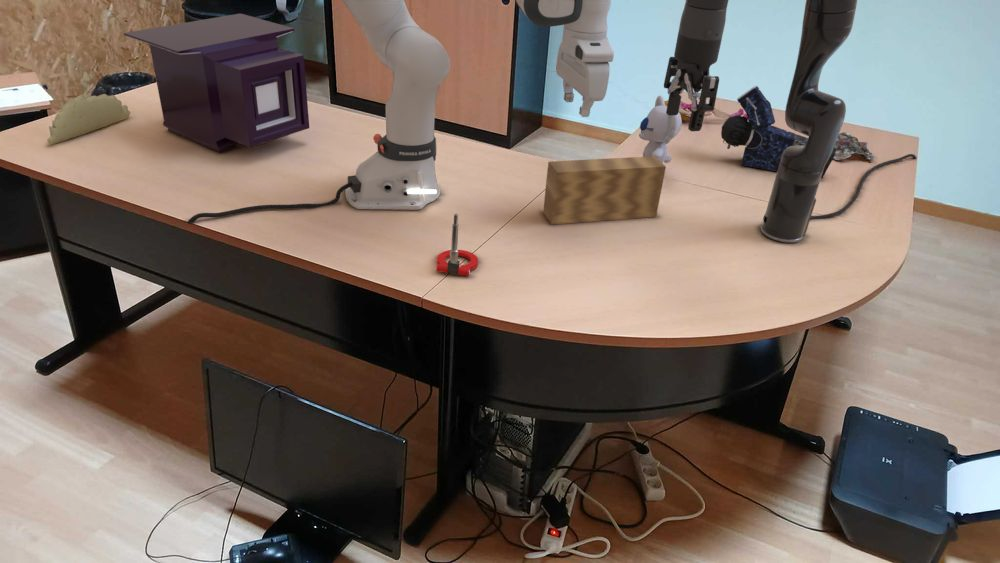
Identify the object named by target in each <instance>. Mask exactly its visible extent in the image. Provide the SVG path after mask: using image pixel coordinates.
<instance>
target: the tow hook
mask: <svg viewBox="0 0 1000 563" xmlns="http://www.w3.org/2000/svg"><path fill="white" fill-rule="evenodd" d="M458 221H459V214H458V213H454V214H453V223H452V225H451V226H452V227H451V246H450V247H451V248H450V249H447V250H444V251H442V252H440V253H439V254H438V255H437V257H436V264H437V265H436V268H435V269H436V272H439V273H441V272H442V273H447V274H450V275H461V276H462V275H463V276H467V277H468V276H470V274H471V271H472V270H473V269H476V267H478V265H479V258H478V256H477V255H476V254H475V253H473V252H470V251H468V250H465V249H464V250H463V249H458V246H459V244H458V243H459V240H458V239H459V226H460V225H459V224H460V223H459V222H458ZM459 257H463V258H466V259H468V260H469V262H468V263H465V264H461V263H460V260H459ZM448 258H449V259H448ZM446 259H448V261H446ZM460 264H461V265H460Z"/></svg>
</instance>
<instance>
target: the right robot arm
mask: <svg viewBox="0 0 1000 563" xmlns="http://www.w3.org/2000/svg"><path fill="white" fill-rule="evenodd" d="M804 4H805V6H804V10H803V11H804V12H803V18H802V26H801V35H800V42H799V46H798V47H799V48H798V53H797V57H796V58H797V59H796V65H795V69H794V73H793V76H792V81H791V83H790V84H791V85H790V88H789V92H788V93H789V94H788V96H787V101H786V105H785V111H784V119H785V121H784V122H785V124H786V125H787V127H788V128H789V129H790V130H793V131H794V132H797V133H800V134H802V135H804V136H807V138H808V140H807V143H806V145H805V146H790V147H787V148H786V149H784V151H783V153H782V156H781V160H780V163H779V167H778V170H777V171H776V175H775V178H774V181H773V184H772V189H771V192H770V196H769V200H768V203H767V207H766V210H765V213H764V215H763V217H762V222H761V223H762V224H761V225H760V232H761V233H762V235H764V236H765V237H766V238H769V239H770V240H773V241H776V242H779V243H786V244H795V243H799V242H801V241H802V240H803V238H804V237H805V236H806V234H807V230H808V227H809V224H810V221H811V220H820V219H821V220H822V219H827V218H832V217H835V216H839V215H841V214H842V213H844V212H845V211H846V210H847V209H849V208H850V207H851V206H852V205H853V204H854V203H855V201H856V199H857V198H858V196H859V194H860V192H861V189H862V187H863V185H864V182H865V181H866V179H867V178H868V177H869V175H870V174H871V173H873V171H875V170H877V169H879V168H881V167H883V166H886V165H889V164H893V163H898V162H900V161H903V160H906V159H908V158H912V159H913V160H917V156H916V155H915V154H913V153H908V154H905V155H903V156H901V157H898V158H895V159H891V160H887V161H884V162H881V163H879V164H877V165H875V166H873V167H871V168H870V169H868V170H867V171H866V172H865V174H864V175H863V176H862V178H861V180H860V181H859V184H858V186H857V188H856V191H855V193H854V195H853V197H852V198H851V199H850V200H849V201H848V203H847V204H846V205H845V206H844V207H843V208H841V209H839V210H838V211H835V212H830V213H827V214H821V215H813V211H814V208H815V205H816V204H817V203H816V202H817V198H816V196H817V192H818V189H819V187H820V186H819V185H820V183H821V180H822V179H821V176H822V173H823V170H824V167H825V164H826V162H827V161H828V159H829V157H830V155H831V153H832V151H833V148H834V145H835V143H836V140H837V137H838V135H839V133H841V130H842V127H843V124H844V121H845V118H846V112H847V106H846V103H845V101H844V100H843V99H842V98H840V97H837V96H835V95H832V94H829V93H826V92H823V91H820V90H819V82H820V78H821V75H822V72H823V68H824V66H825V65H826V63H827V62H828V61H829V60H830V59H831V57H833V55H834V54H835V53H836V52H837V51H838V50H839V49H840V47H841V46H842V45H843V44H844V43H845V42H846V41H847V39H848V38H849V36H850V34H851V32H852V29H853V27H854V21H855V15H856V10H857V5H858V0H805V3H804ZM728 5H729V0H685V2H684V7H683V10H682V13H681V16H680V22H679V27H678V32H677V38H676V43H675V48H674V54H673V55H674V56H670V57H669V59H668V62H667V67H666V73H665V77H664V81H663V88H664V89H667V94H668V99H667V101H668V105H667V111H666V114H668V115H669V116H671V115H677V114H678V112H679V106H680V101H682V94H683V92H684V91H685V92H686V93H687V97H688V99H689V100H690V101H691V104H692V108H693V110H692V112H690V113H691V116H690V121H688V122H689V123H688V127H687V129H688V131H689V132H700V131H701V130H702V127H703V123H704V122H703V121H704V118H705V116H704V114H705V112H706V111H713V110H714V108H715V106H716V99H717V95H718V89H719V83H720V77H719V76H717V75H715V76H713V75H710V67H711V66H712V65H713V64H716V63H717V61H718V58H719V54H720V49H721V44H722V41H723V36H724V35H723V34H724V31H725V27H726V20H727V10H728ZM671 78H672V79H671ZM708 98H709V100H708ZM698 100H699V101H698ZM698 102H699V104H698Z"/></svg>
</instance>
